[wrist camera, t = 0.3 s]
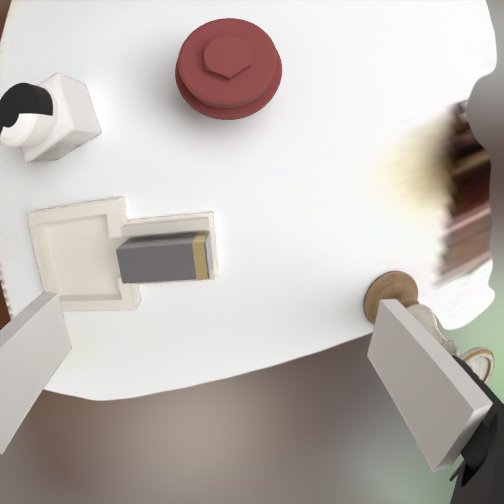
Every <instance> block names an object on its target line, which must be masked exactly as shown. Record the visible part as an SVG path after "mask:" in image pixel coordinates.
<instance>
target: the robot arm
mask: <svg viewBox="0 0 504 504" xmlns="http://www.w3.org/2000/svg"><path fill="white" fill-rule="evenodd" d="M71 349H72V347H71V344H70V340H69V337H68V333H67V329H66V325H65V321H64V317H63V313H62V309H61V304H60V300H59V295H58V293H53V292H43V293H42V294H41V295H40V296H39V297H38V298H36V299H35V300H34V301H33V302H32V303H31V304H29V305H28V306H27V307H26V308H25V309H24V310H23V311H21V312H20V313H19V314H18V315H17V316H16V317H15V318H14V319H12V320H11V321H10V322H9V323H8V324H7V325H6V326H5V327H4V328H3V329H2V330H0V454H3V453H4V451H5V449H6V447H7V446H8V444H9V442H10V441H11V439H12V437H13V436H14V434H15V432H16V431H17V429H18V427H19V426H20V424H21V422H22V421H23V419H24V418H25V416H26V415H27V413H28V412H29V410H30V408H31V407H32V405H33V403H34V402H35V401H36V399H37V398H38V396H39V395H40V393H41V392H42V390H43V389H44V387H45V386H46V384H47V383H48V381H49V380H50V378H51V377H52V376H53V374H54V373H55V371H56V370H57V368H58V367H59V366H60V364H61V363H62V361H63V360H64V359H65V357H66V356H67V354H68V353H69V352H70V350H71ZM367 356H368V358H369V360H370V361H371V363H372V365H373V366H374V368H375V370H376V371H377V373H378V375H379V377H380V378H381V380H382V382H383V383H384V385H385V387H386V388H387V390H388V392H389V394H390V395H391V397H392V399H393V401H394V402H395V404H396V406H397V407H398V409H399V411H400V413H401V415H402V416H403V418H404V420H405V422H406V423H407V425H408V427H409V429H410V431H411V433H412V434H413V436H414V438H415V440H416V442H417V443H418V445H419V447H420V449H421V451H422V453H423V454H424V456H425V458H426V460H427V462H428V464H429V466H430V467H431V469H432V471H433V472H435V471H438V470H440V469H443V468H446V467H448V466H450V465H452V464H453V463H454V461H455V460H456V459H457V457H458V456H459V455H460V453H461V455H462V456H463V458H464V461H463V462H462V463H461V465H460V466H459V467H458V468H457V470H456V471H455V472H454V473H453V475H452V476H451V478H450V481H452V480H453V479H454V478H455V477H456V476H457V475H458V477H457V481H456V485H455V489H454V492H453V496H452V499H451V502H450V504H504V404H503V403H502V402H501V401H500V400H499V399H498V398H497V396H496V395H495V394H494V393H493V392H492V391H491V390H490V388H489V387H488V386H487V385H486V384H485V383H484V382H483V381H482V380H480V377H479V376H478V375H477V374H476V373H475V372H474V373H473V370H472V369H471V368H470V366H469V365H468V364H467V363H466V362H465V361H463V360H461V359H460V358H458V357H456V356H455V355H452V356H451V355H450V354H449V353H448V352H447V351H446V350H445V349H444V348H443V347H442V345H441V344H440V343H439V342H438V341H437V340H436V339H435V338H434V337H433V336H432V335H431V334H430V333H429V332H428V331H427V330H426V329H425V328H424V327H423V326H422V325H421V323H420V322H419V321H418V320H417V319H416V318H415V317H414V316H413V315H412V314H411V313H410V312H409V311H408V310H407V309H406V308H405V307H404V306H403V305H402V304H401V303H400V302H399V301H398V300H397V299H384V300H380V303H379V308H378V312H377V317H376V321H375V326H374V330H373V334H372V338H371V342H370V346H369V350H368V354H367Z"/></svg>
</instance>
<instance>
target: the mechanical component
mask: <svg viewBox="0 0 504 504" xmlns="http://www.w3.org/2000/svg"><path fill="white" fill-rule="evenodd" d="M175 77H176V83H177V86H178V89H179V91H180V93H181V95H182V96H183V98H184V99H185V100H186V101H187V103H188V104H189V105H190V106H191V107H193V108H194V109H195V110H196V111H198V112H200V113H201V114H203V115H206V116H208V117H211V118H215V119H221V120H233V119H240V118H244V117H247V116H249V115H252V114H254V113H256V112H257V111H259V110H260V109H262V108H263V107H264V106H265V105H266V104H267V103H268V102H269V101H270V100H271V99H272V97H273V96H274V94H275V93H276V91H277V89H278V87H279V84H280V81H281V77H282V64H281V59H280V56H279V54H278V51H277V50H276V48H275V46H274V44H273V42H272V40H271V38H270V37H269V36H268V34H267V33H265V32H264V31H263V30H262V29H261V28H259V27H258V26H257V25H255V24H253V23H251V22H248V21H245V20H241V19H233V18H226V19H218V20H214V21H211V22H208V23H206V24H204V25H202V26H200V27H198V28H197V29H196V30H194V31H193V32H192V33H191V34H190V35H189V36H188V37H187V39H186V40H185V41H184V43H183V45H182V47H181V50H180V53H179V57H178V60H177V63H176V70H175Z"/></svg>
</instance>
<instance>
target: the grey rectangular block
mask: <svg viewBox="0 0 504 504" xmlns="http://www.w3.org/2000/svg"><path fill="white" fill-rule="evenodd" d="M116 253H117V259H118V264H119V269H120V274H121V279H122V284H126V283H145V282H162V281H179V280H195V279H197V280H204V279H210V275H211V270H212V265H213V258H212V249H211V239H210V231H198V232H189V233H177V234H165V235H154V236H143V237H132V238H129V239H128V240H127V241H125V242H124V243H123V244H122V245H120V246H119V247H118V248H117V249H116Z"/></svg>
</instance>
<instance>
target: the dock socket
mask: <svg viewBox="0 0 504 504" xmlns="http://www.w3.org/2000/svg"><path fill="white" fill-rule="evenodd" d="M27 217H28V223H29V228H30V234H31V239H32V244H33V248H34V253H35V257H36V262H37V266H38V270H39V274H40V278H41V281H42V285H43V289H44V292H53V293H58V295H59V300H60V304H61V309H62V311H117V310H136V308H137V307H138V305H139V303H140V302H141V295H140V290H139V285H138V284H147V283H165V282H182V281H198V280H197V279H195V280H179V281H162V282H145V283H126V284H122V279H121V274H120V269H119V264H118V259H117V253H116V249H117V248H118V247H119V246H120V245H122V244H123V243H124V242H125V241H127V240H128V239H129V238H132V237H143V236H154V235H165V234H177V233H189V232H198V231H210V239H211V249H212V258H213V265H212V270H211V275H210V279H204V280H213V279H214V278H215V277H219V267H218V257H217V247H216V237H215V226H214V215H213V212H205V213H194V214H182V215H172V216H161V217H151V218H142V219H132V220H127V213H126V206H125V198H124V197H117V198H110V199H103V200H96V201H90V202H83V203H77V204H71V205H65V206H59V207H53V208H48V209H42V210H38V211H35V212H32V213H29V214H27Z"/></svg>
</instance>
